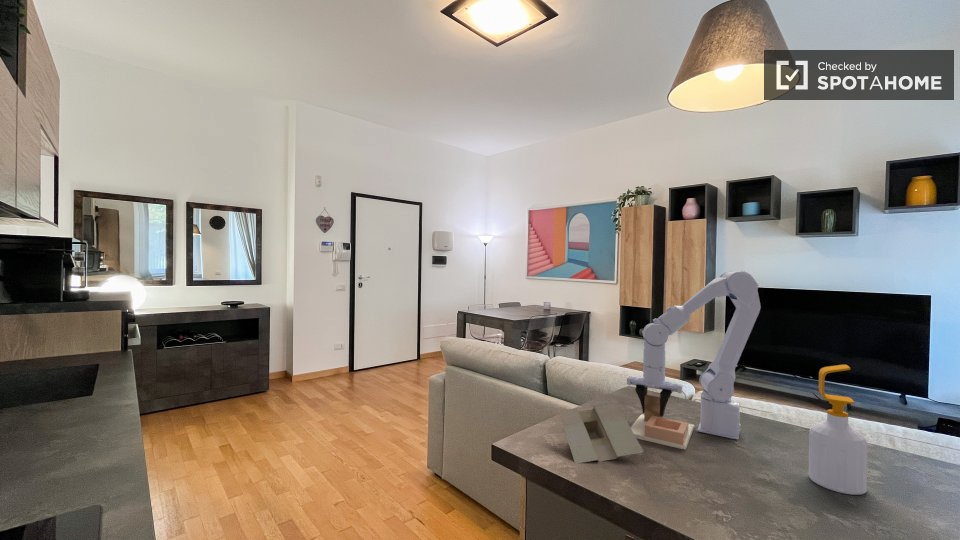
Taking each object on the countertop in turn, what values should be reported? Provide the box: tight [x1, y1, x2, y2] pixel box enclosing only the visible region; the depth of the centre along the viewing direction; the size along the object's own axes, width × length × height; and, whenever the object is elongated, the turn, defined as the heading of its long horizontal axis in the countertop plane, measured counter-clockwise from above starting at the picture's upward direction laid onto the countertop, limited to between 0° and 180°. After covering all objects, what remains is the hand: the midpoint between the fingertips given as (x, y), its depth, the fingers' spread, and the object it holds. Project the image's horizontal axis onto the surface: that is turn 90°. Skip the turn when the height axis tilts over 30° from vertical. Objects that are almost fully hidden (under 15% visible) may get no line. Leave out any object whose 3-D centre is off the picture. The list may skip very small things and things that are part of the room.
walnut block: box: [643, 392, 661, 422], centre depth 116 cm, size 4×4×7 cm
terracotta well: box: [645, 416, 689, 445], centre depth 106 cm, size 9×9×3 cm
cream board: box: [630, 413, 695, 451], centre depth 110 cm, size 14×17×1 cm
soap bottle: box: [808, 364, 868, 496], centre depth 84 cm, size 9×9×25 cm
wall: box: [558, 402, 645, 464], centre depth 100 cm, size 16×9×15 cm
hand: (653, 413), depth 116 cm, fingers closed on walnut block, 4 cm apart
